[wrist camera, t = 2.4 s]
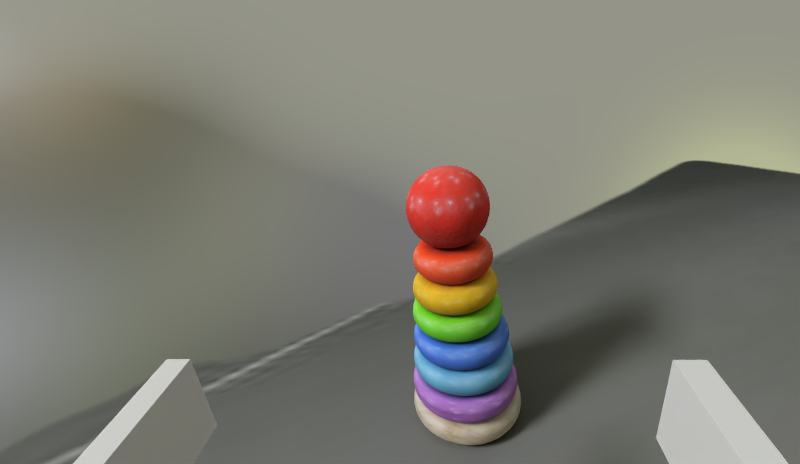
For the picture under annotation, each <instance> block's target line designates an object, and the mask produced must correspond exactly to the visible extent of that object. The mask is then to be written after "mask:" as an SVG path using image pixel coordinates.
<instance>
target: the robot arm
mask: <svg viewBox="0 0 800 464" xmlns="http://www.w3.org/2000/svg"><path fill="white" fill-rule="evenodd" d="M216 427H217V423H216V421H215V419H214V416H213V414H212V411H211V409H210V406H209V404H208V401H207V399H206V397H205V394H204V392H203V389H202V387H201V384H200V382H199V380H198V377H197V375H196V372H195V370H194V367H193V365H192V363H191V360H190V359H167V360H166V361H165V362H164V363H163V364H162V365H161V366H160V368H159V369H158V370H157V371H156V372H155V373H154V374H153V375H152V376H151V377H150V379H149V380H148V381H147V382H146V383H145V384H144V385H143V386H142V388H141V389H140V390H139V391H138V392H137V393H136V394H135V395H134V396H133V398H132V399H131V400H130V401H129V402H128V403H127V404H126V405H125V406H124V408H123V409H122V410H121V411H120V412H119V413H118V414H117V415H116V416H115V418H114V419H113V420H112V421H111V422H110V423H109V424H108V425H107V426H106V428H105V429H104V430H103V431H102V432H101V433H100V434H99V435H98V437H97V438H96V439H95V440H94V441H93V442H92V443H91V444H90V445H89V447H88V448H87V449H86V450H85V451H84V452H83V453H82V454H81V455H80V457H79V458H78V459H77V460H76V461H75V462H74V463H73V464H194V462H195V461H196V459H197V457H198V456H199V454H200V453H201V451H202V449H203V448H204V446H205V444H206V443H207V441H208V440H209V438H210V436H211V435H212V433H213V431H214V430H215V428H216ZM656 439H657V441H658V442H659V444H660V446H661V448H662V450H663V452H664V454H665V456H666V458H667V460H668V462H669V464H788V463H787V461H786V460H785V459H784V458H783V456H782V455H781V454H780V452H779V451H778V450H777V449H776V447H775V446H774V445H773V443H772V442H771V441H770V440H769V438H768V437H767V436H766V435H765V433H764V432H763V431H762V429H761V428H760V427H759V426H758V424H757V423H756V422H755V420H754V419H753V418H752V417H751V415H750V414H749V413H748V412H747V410H746V409H745V408H744V406H743V405H742V404H741V403H740V401H739V400H738V399H737V397H736V396H735V395H734V394H733V392H732V391H731V390H730V389H729V387H728V386H727V385H726V383H725V382H724V381H723V380H722V378H721V377H720V376H719V374H718V373H717V372H716V371H715V369H714V368H713V367H712V366H711V364H710V363H709V362H708V360H673V362H672V367H671V372H670V376H669V381H668V386H667V390H666V395H665V400H664V404H663V409H662V413H661V418H660V423H659V427H658V432H657V437H656Z"/></svg>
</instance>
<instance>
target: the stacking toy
mask: <svg viewBox="0 0 800 464" xmlns="http://www.w3.org/2000/svg"><path fill="white" fill-rule="evenodd" d="M489 210H490V202H489V197H488V193H487V191H486V188H485V186H484V185H483V183H482V182H481V180H480V179H479V178H478V177H477V176H475V175H474V174H473V173H472V172H470V171H468V170H466V169H464V168H460V167H457V166H441V167H436V168H433V169H430V170H428V171H426V172H425V173H424V174H422V175H421V176H420V177H419V178H418V179H417V180H416V181H415V182H414V183H413V185H412V186H411V188H410V190H409V193H408V197H407V200H406V214H407V218H408V221H409V224H410V226H411V228H412V229H413V231H414V233H415V234H416V235H417V236H418V237H419V238H420V239H422V241H421V242H420V243H419V244H418V245H417V247H416V248H415V251H414V255H413V261H414V265H415V268H416V269H417V271H418V273H417V275H416V277H415V279H414V282H413V292H414V295H415V298H416V299H415V301H414V305H413V315H414V319H415V321H416V325H415V330H414V338H415V343H416V346H415V352H414V360H415V365H416V367H415V371H414V386H415V394H414V401H415V407H416V411H417V413H418V416H419V417H420V419H421V421H422V422H423V424H424V425H425V426H426V427H427V428H428V429H429V430H430V431H431V432H432V433H434V434H435V435H437V436H438V437H440V438H442V439H444V440H447V441H450V442H453V443H456V444H461V445H480V444H485V443H488V442H491V441H493V440H496V439H498V438H499V437H501V436H502V435H504V434H505V433H506V432H507V431H508V430H509V429H510V428H511V427H512V426H513V425H514V423H515V422H516V420H517V418H518V416H519V413H520V408H521V394H520V390H519V387H518V384H517V373H516V369H515V366H514V364H513V350H512V346H511V344H510V342H509V340H508V339H509V329H508V325H507V322H506V320H505V318H504V317H503V315H502V303H501V300H500V297H499V296H498V294H497V293H496V291H497V287H498V282H497V277H496V275H495V273H494V271H493V270H492V268H491V267H490V265H491V263H492V259H493V252H492V248H491V246H490V244H489V242H488V241H487V240H486V239H485V238H484V237H482V236H481V235H479V234H480V233H481V232H482V230H483V229H484V227H485V225H486V223H487V220H488V216H489Z"/></svg>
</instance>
